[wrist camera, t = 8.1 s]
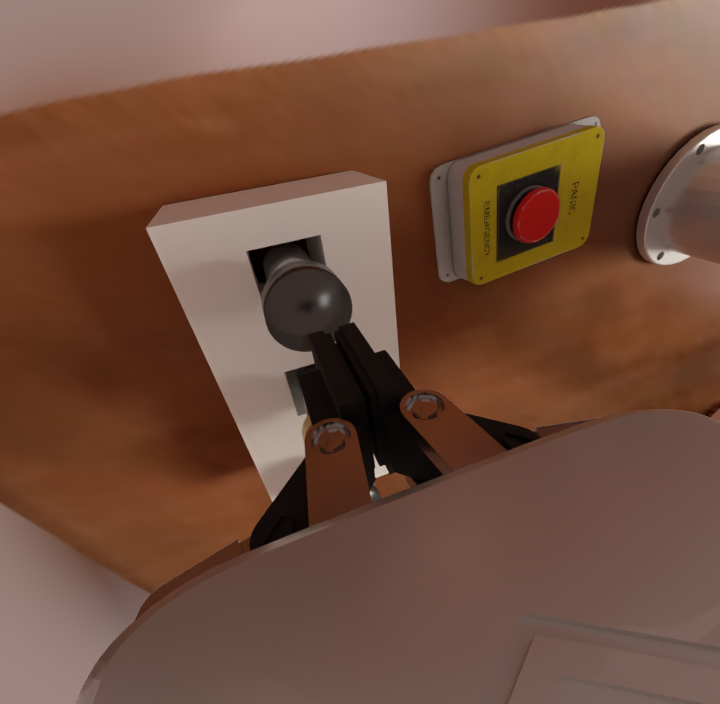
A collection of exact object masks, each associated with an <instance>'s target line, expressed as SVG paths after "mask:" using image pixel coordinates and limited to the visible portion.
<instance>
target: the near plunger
mask: <svg viewBox="0 0 720 704" xmlns="http://www.w3.org/2000/svg"><path fill="white" fill-rule="evenodd" d="M263 269H264V273H265V276H266V279H267V282H266V284H265V286H264V289H263V292H262V300H261V302H262V309H263V313H264V317H265V322H266V326H267V328H268V331H269V332H270V334H271V336H272V337H273V338H274V339H275V340H276V341H277V342H278V343H279V344H281V345H282V346H284V347H286V348H288V349H291V350H294V351H300V352H311V347H310V342H309V338H308V334H311V333H315V332H319V331H322V330H323V331H324V333H325V334H327V333H330V334H331V335H332V337H333V339H334V341H335V336H334V331H338V330H339V326H341V325H344V324H348V323H350V320H351V317H352V300H351V296H350V294H349V292H348V290H347V288H346V287H345V286H344V284H343V283H342V282H341V281H340V279H339V278H338V277H337V276H336V274H335V273H334V272H333V271H332V270H331V269H330V268H328V267H327V266H325V265H323V264H321V263H318V262H315V261H311V260H310V258H309V257H308V255H307V254H306V253H305V251H304V250H303V249H302V248H301V247H299V246H298V245H296V244H293V243H288V242H286V243H281V244H277V245H274V246H273V247H272V248H270V249H269V250H268V252H267V253H266V255H265V257H264V261H263Z"/></svg>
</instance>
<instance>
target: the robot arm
mask: <svg viewBox="0 0 720 704" xmlns="http://www.w3.org/2000/svg"><path fill="white" fill-rule="evenodd" d="M636 241H637V248H638V250H639V252H640V255H641V256H642V257H643V258H644V259H645V260H647V261H649V262H651V263H655V264H659V265H671V264H674V263H678V262H680V261H682V260H684V259H686V258H688V257H690V256H692V257H696V258H700V259H704V260H707V261H711V262H715V263H718V264H720V124H719V125H715V126H713V127H710V128H708V129H706V130H704V131H702V132H701V133H699V134H698V135H696V136H695V137H694V138H692V139H691V140H690V141H689V142H688V143H686V144H685V145H684V146H683V147H682V148H681V149H680V150H679V151H678V152H677V153H676V154H675V155H674V156H673V157H672V158H671V160H670V161H669V162H668V163H667V165H666V166H665V167H664V169H663V170H662V171H661V173H660V174H659V175H658V177H657V179H656V180H655V182H654V184H653V185H652V187H651V189H650V191H649V193H648V195H647V197H646V199H645V201H644V204H643V207H642V209H641V212H640V215H639V220H638V224H637V232H636ZM334 336H335V341H336V343H335V341H334V339H333V337H332V335H331V334H330V333H327V334H325V333H324V331H323V330H322V331H319V332H315V333H311V334H308V338H309V342H310V347H311V351H312V355H313V359H314V363H315V367H316V370H315V371H311V372H308V373H304V374H301V375H298V380H299V383H300V387H301V390H302V394H303V397H304V401H305V404H306V407H307V411H308V414H309V417H310V421H311V424H312V428H311V429H310V430H309V431H308V433H307V434H306V436H305V443H304V444H305V458H304V459H303V461H302V462H301V464H300V465H299V466H298V468H297V469H296V471H295V472H294V473H293V475H292V476H291V477H290V479H289V480H288V482H287V483H286V484H285V486H284V487H283V489H282V490H281V491H280V493H279V494H278V495H277V497H276V498H275V500H274V501H273V502H272V504H271V505H270V507H269V508H268V509H267V511H266V512H265V513H264V515H263V516H262V518H261V519H260V520H259V522H258V523H257V525H256V526H255V528H254V530H253V532H252V534H251V536H250V537H248V538H247V539H245V540H243V541H242V542H239V541H238V539H237V540H235V541H234V542H232V543H231V544H229V545H227V546H226V547H224V548H222V549H221V550H219V551H217V552H216V553H214V554H213V555H211V556H209V557H208V558H206V559H204V560H203V561H201V562H199V563H198V564H196V565H195V566H193V567H191V568H190V569H188V570H186V571H185V572H183V573H181V574H180V575H178V576H177V577H175V578H173V579H172V580H170V581H168V582H167V583H165V584H163V585H162V586H160V587H159V588H158V589H157V590H155V591H154V592H153V593H152V594H150V596H149V597H148V598H147V600H146V601H145V602H144V603H143V605H142V606H141V608H140V610H139V612H138V615H137V617H136V619H135V621H134V622H133V623H132V624H131V625H129V626H128V627H127V628H126V629H125V630H124V631H123V632H122V633H121V634H120V635H119V636H118V637H117V638H116V639H115V640H114V641H113V642H112V643H111V644H110V646H109V647H108V648H107V649H106V651H105V652H104V653H103V654H102V656H101V657H100V658H99V660H98V661H97V663H96V664H95V666H94V667H93V669H92V671H91V673H90V674H89V676H88V678H87V680H86V681H85V683H84V685H83V687H82V689H81V692H80V694H79V696H78V699H77V701H76V703H75V704H720V422H719V421H716V420H714V419H712V418H709V417H707V416H704V415H701V414H697V413H694V412H689V411H682V410H672V409H645V410H638V411H630V412H622V413H618V414H614V415H609V416H605V417H601V418H598V419H589V420H582V421H575V422H568V423H561V424H555V425H548V426H541V427H535V431H533V432H532V431H531V430H529V429H526V428H523V427H520V426H516V425H512V424H508V423H504V422H499V421H495V420H491V419H487V418H483V417H478V416H474V415H470V414H466V413H464V412H463V411H462V410H461V409H459V408H458V407H457V406H456V405H455V404H454V403H453V402H451V401H450V400H449V399H448V398H447V397H446V396H444V395H443V394H441V393H440V392H437V391H435V390H430V389H418V390H415V389H414V388H413V386H412V385H411V383H410V382H409V381H408V379H407V378H406V377H405V375H404V374H403V373H402V371H401V370H400V369H399V367H398V366H397V365H396V363H395V362H394V360H393V359H392V358H391V356H390V355H389V354H388V352H387V351H386V350H382V351H379V352H376V353H375V352H374V351H373V349H372V348H371V346H370V345H369V343H368V342H367V340H366V339H365V337H364V336H363V335H362V333H361V332H360V330H359V329H358V327H357V326H356V324H355V323H354V322H352V323H348V324H344V325H341V326H339V330H338V331H334ZM373 454H374V455H373ZM374 456H375V458H376V460H377V462H378V464H379V466H383V465H385V466H386V468H387V470H388V472H389V474H392V473H394V472H396V473H399V474H402V475H405V477H406V481H407V483H408V484H409V486H410V487H411V488H409V489H406V490H403V491H401V492H398V493H396V494H393V495H390V496H388V497H385V498H383V499H380V500H377V501H375V502H372V499H371V495H370V490H371V488H372V486H373V484H374V482H375V480H376V478H375V471H374V469H375V461H374Z"/></svg>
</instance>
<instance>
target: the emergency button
mask: <svg viewBox="0 0 720 704" xmlns="http://www.w3.org/2000/svg"><path fill="white" fill-rule="evenodd" d="M604 139H605V131H604V129H603V128H602V127H600V120H599V119H598V118H597V116H589V117H586V118H583V119H580V120H577V121H574V122H571V123H568V124H565V125H562V126H559V127H555V128H552V129H549V130H546V131H543V132H540V133H537V134H534V135H531V136H528V137H525V138H522V139H519V140H516V141H512V142H509V143H506V144H503V145H500V146H497V147H494V148H491V149H488V150H485V151H482V152H479V153H476V154H473V155H470V156H466V157H463V158H460V159H457V160H454V161H451V162H448V163H445V164H442V165H440V166H439V167H437V168H435V169H434V171H433V172H432V174H431V175H430V181H429V187H430V197H431V207H432V217H433V227H434V238H435V248H436V258H437V268H438V276H439V278H440V280H442V281H444V282H451V281H454V280H457V279H459V278H462V279H465V280H467V281H469V282H471V283H473V284H476V285H481V284H484V283H487V282H489V281H492V280H495V279H497V278H500V277H502V276H505V275H508V274H510V273H513V272H515V271H518V270H520V269H523V268H526V267H528V266H531V265H533V264H536V263H539V262H541V261H544V260H546V259H549V258H551V257H554V256H557V255H559V254H562V253H564V252H567V251H570V250H572V249H575V248H577V247H580V246H581V245H583V244H584V242H585V241H586V240H587V238H588V235H589V230H590V224H591V218H592V212H593V206H594V200H595V194H596V188H597V182H598V176H599V170H600V164H601V158H602V152H603V146H604Z"/></svg>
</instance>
